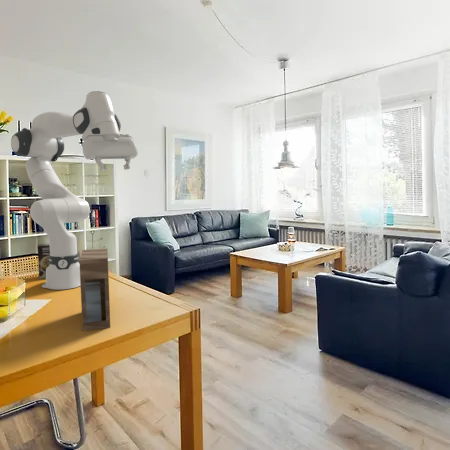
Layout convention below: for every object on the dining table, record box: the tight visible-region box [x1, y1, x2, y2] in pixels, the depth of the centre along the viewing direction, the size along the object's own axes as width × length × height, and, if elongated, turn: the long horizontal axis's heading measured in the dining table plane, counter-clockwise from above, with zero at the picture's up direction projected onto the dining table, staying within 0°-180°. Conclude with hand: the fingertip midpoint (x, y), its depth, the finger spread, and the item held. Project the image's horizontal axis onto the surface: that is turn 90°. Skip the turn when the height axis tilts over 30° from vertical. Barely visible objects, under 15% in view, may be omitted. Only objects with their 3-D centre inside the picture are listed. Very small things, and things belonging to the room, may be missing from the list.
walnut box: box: [79, 248, 111, 332], centre depth 121 cm, size 18×8×22 cm, turn 18°
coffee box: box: [37, 243, 50, 280], centre depth 177 cm, size 9×6×16 cm
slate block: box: [85, 282, 103, 322], centre depth 121 cm, size 5×5×12 cm
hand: (115, 169), depth 134 cm, fingers open, 8 cm apart
